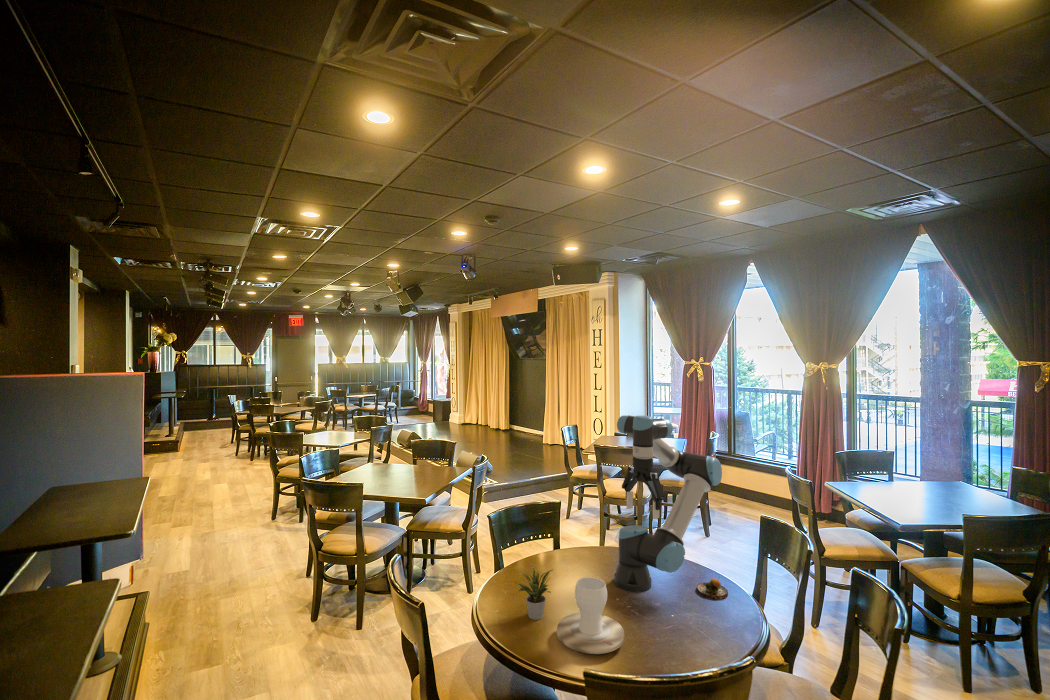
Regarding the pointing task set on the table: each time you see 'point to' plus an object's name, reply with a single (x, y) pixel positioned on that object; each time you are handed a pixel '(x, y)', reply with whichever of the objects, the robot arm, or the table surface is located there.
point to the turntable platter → (586, 643)
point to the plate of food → (713, 589)
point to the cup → (590, 604)
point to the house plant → (535, 594)
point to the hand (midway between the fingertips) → (642, 513)
